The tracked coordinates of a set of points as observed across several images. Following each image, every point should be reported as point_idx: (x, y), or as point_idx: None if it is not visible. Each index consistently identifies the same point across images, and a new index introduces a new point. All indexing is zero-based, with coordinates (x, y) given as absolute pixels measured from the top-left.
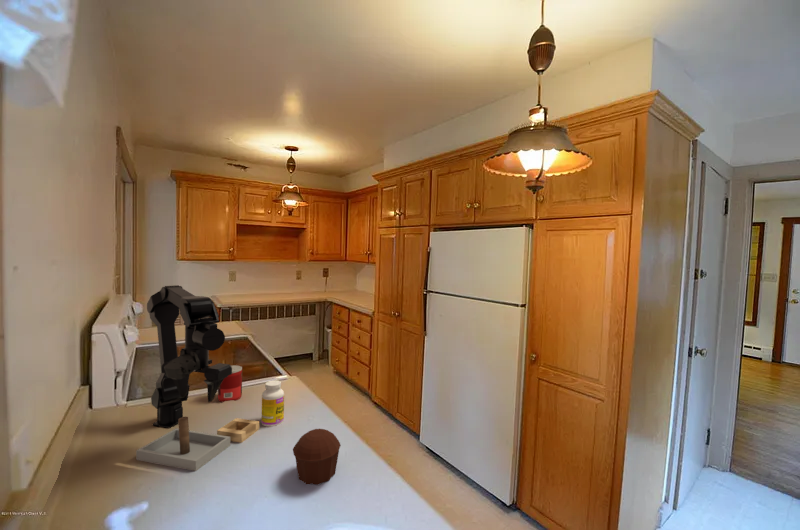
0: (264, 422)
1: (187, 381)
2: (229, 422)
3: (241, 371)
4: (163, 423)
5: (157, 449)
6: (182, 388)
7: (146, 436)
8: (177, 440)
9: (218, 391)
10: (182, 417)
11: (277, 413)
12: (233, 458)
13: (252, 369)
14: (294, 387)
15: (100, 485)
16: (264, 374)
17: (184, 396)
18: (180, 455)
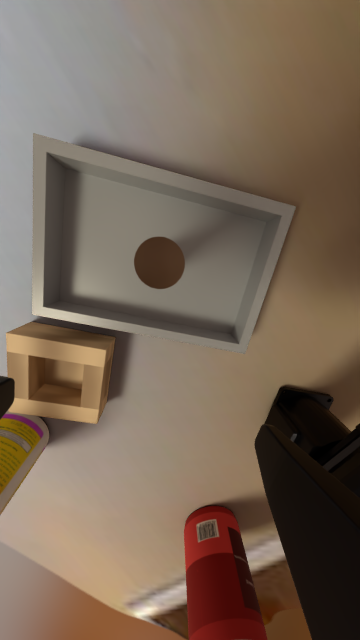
0: (18, 419)
1: (319, 637)
2: (99, 398)
3: None
4: (305, 398)
5: (248, 273)
6: (307, 507)
7: (317, 345)
8: (220, 323)
9: (238, 542)
10: (172, 277)
11: None
12: (3, 249)
13: None
14: (84, 577)
15: (309, 76)
16: None
17: (256, 439)
18: None
